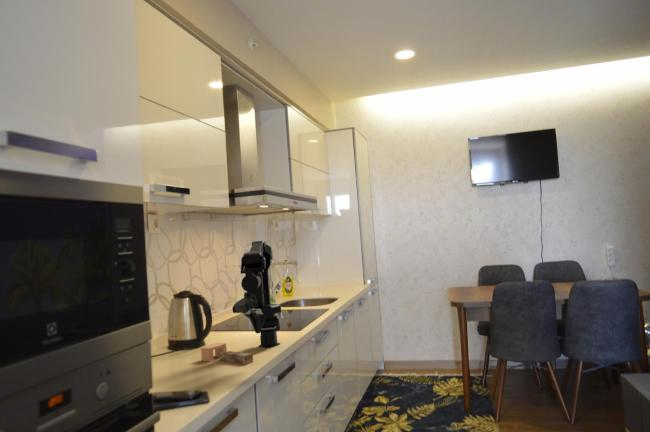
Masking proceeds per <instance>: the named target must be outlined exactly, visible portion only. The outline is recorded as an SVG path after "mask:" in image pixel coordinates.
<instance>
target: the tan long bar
mask: <svg viewBox="0 0 650 432" xmlns="http://www.w3.org/2000/svg"><path fill="white" fill-rule="evenodd" d="M218 359H219V360H223V362H226V363H227V362H228V363H234V364H240V365H241V364H242V365H249V364H252V363H254V355H253V353H251V352H250V353H248V352H241V351H232V350H229V351H228V350H227V352H221V353H219V356H218Z"/></svg>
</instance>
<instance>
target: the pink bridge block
mask: <svg viewBox="0 0 650 432" xmlns="http://www.w3.org/2000/svg"><path fill="white" fill-rule="evenodd" d="M221 352H228V350H227V343H224V342H214V343H212V344H208V345H204V346H203V347H200V355H201V361H203V362H213V361H215V359H214V357H219V353H221ZM214 355H215V356H214Z"/></svg>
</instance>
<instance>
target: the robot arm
mask: <svg viewBox="0 0 650 432" xmlns="http://www.w3.org/2000/svg"><path fill="white" fill-rule="evenodd" d="M273 255H274V254H273V250H272V247H271V246H270V245H268V244H266V241H264V240H258V241H257V240H256V241H252V242H251V248H250V250H249V251H247V252H244V253H243V255H242V257H241V259H240V261H241V262H240V274H245V275H244V277H243V278H242V279H241V283H240V284H241V288H242V289H243V291H244V293H243V298H241V299H239V300H238V301H236V302H235V303H234V304H233V306H232V314H243V315H244V317H247V318H248V319H249V321H250V322H251V323H250V324H251V325H252V327H253V329H254V332H255V334H260V337H259V338H260V339H259V340H260V344H259V345H258V347H259V348H269V349H270V348H273V347H277V346H279V345H281V343H280V342H278V335H277V332H278V331H280V330H281V324H280V319H279V318H278V315H277V314H278V313H279V314H280V313H281V312H282V306H281V305H280V304H279V303H272V301H271V300H272V299H271V288H270V275H269V273H270V272H269V270H270V268H271V265H272V262H273V261H272V260H274V256H273Z"/></svg>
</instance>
